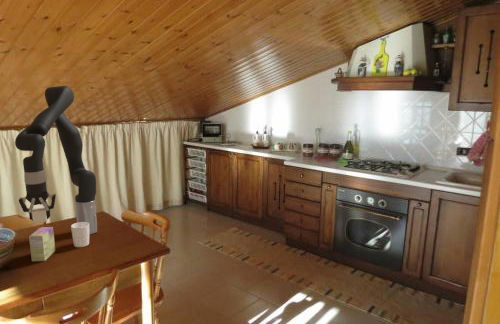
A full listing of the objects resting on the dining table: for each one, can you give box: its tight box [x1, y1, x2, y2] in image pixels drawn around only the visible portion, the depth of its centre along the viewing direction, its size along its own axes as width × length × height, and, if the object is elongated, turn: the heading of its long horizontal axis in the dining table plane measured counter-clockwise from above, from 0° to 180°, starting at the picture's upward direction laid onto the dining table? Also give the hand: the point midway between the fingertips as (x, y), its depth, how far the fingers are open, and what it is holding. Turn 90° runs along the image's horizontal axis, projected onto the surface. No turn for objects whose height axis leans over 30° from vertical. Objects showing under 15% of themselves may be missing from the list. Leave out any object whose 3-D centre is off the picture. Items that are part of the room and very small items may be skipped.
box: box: [28, 226, 56, 262], centre depth 160 cm, size 10×6×12 cm, turn 5°
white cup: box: [70, 222, 90, 248], centre depth 173 cm, size 8×8×10 cm
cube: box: [32, 206, 48, 224], centre depth 154 cm, size 5×5×5 cm
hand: (40, 219), depth 155 cm, fingers closed on cube, 5 cm apart
